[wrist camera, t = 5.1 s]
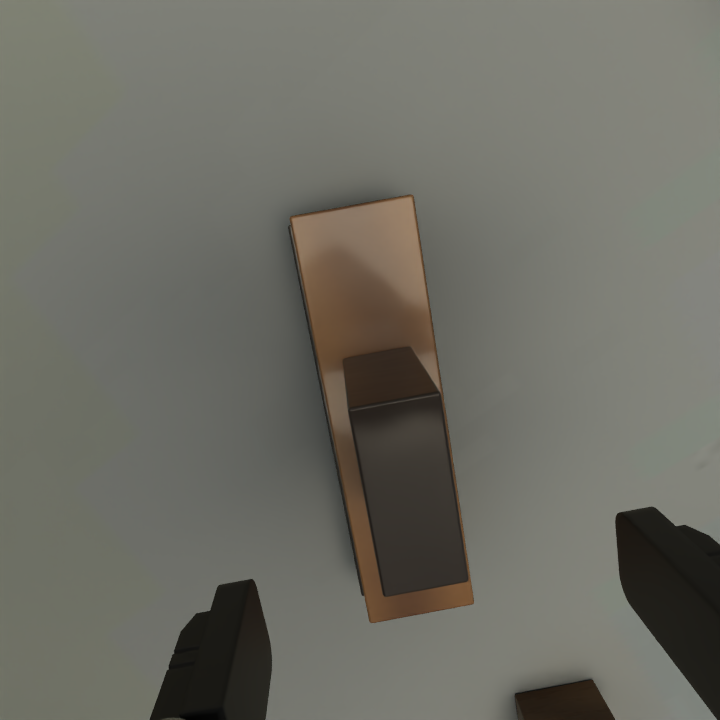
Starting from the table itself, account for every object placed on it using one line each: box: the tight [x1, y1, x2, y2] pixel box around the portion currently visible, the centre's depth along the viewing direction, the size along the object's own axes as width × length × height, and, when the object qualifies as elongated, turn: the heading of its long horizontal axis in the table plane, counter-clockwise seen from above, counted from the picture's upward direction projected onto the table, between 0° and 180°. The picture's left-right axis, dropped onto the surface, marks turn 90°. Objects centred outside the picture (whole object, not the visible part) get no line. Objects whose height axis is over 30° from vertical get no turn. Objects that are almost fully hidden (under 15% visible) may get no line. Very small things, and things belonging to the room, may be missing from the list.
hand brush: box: [288, 195, 474, 623], centre depth 22 cm, size 5×17×10 cm, turn 10°
